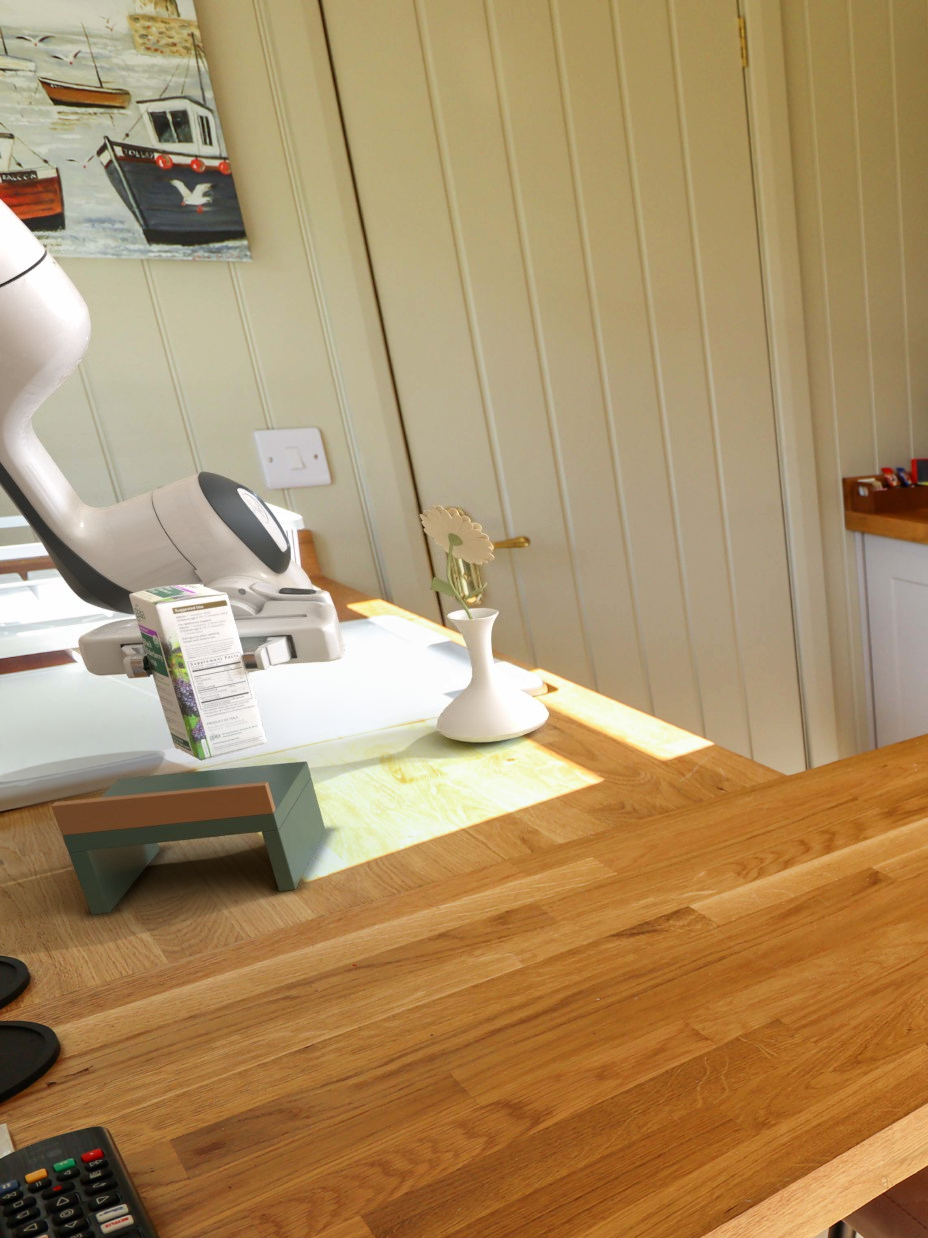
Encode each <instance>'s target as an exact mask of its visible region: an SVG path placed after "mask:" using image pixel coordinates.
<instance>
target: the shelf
mask: <svg viewBox="0 0 928 1238" xmlns="http://www.w3.org/2000/svg"><path fill="white" fill-rule="evenodd" d="M50 807H51V809H52V813H53V816H54V819H55V820H56V823H57V826H58V829H59V831H60V834H61V836H62V840H63V842H64V845H65V847H66V849H67V852H68V855H69V858H70V861H71V865H72V866H73V869H74V871H75V872H74V873H75V874H76V877H77V880H78V882H79V884H80V887H81V890H82V893H83V895H84V898H85V902H86V903H87V907H88V909H89V912H90V914H91V915H92V916H95V915H102V914H110V913H111V912H112V910H113V909H114V908H115V906H117V904H118V903H119V902H120V901H121V899H122V898H123V897H124V895H125V894H126V893H127V892H128V891H129V889H130V888H131V887H132V885H133V884H134V883H135V881H136V880H138V878H139V877H140V876H141V875H142V873H143V872H144V870H145V869H146V868H147V867H148V865H149V864H150V863H151V862H152V860H153V859H154V858H155V857H156V855H157V854H158V853H159V852H160V846H159V844H161V843H171V842H181V841H188V840H189V841H190V840H199V839H208V838H217V837H227V836H235V835H245V834H254V833H261V834H262V838H263V841H264V845H265V847H266V851H267V855H268V858H269V862H270V866H271V869H272V873H273V876H274V878H275V882H276V885H277V889H278V891H279V892H288V891H295V890H296V889H297V887H298V885H299V883H300V881H302V880H301V879H302V878H303V876H304V874H305V872H306V870H307V869H308V866H309V864H310V862H311V861H312V859H313V856H314V855H315V852H316V851H317V849H318V847H319V845H320V843H321V842H322V839H323V837H324V835H325V834H326V827H325V823H324V820H323V815H322V813H321V808H320V805H319V800H318V796H317V793H316V789H315V787H314V782H313V779H312V775H311V770H310V768H309V763H308V761H304V760H303V761H295V762H286V763H283V762H282V763H273V764H263V765H251V766H241V767H231V768H230V767H229V768H220V769H219V768H218V769H209V770H197V771H186V772H178V773H177V772H176V773H165V774H155V775H154V774H153V775H144V776H135V777H134V776H132V777H123V778H121V777H120V778H118V779H117V780H116V781H115V782H114V783H113V784H112V785H111V786H110V787H109V788H108V789H107V790H106V791H105V792H104V793H103V794H102V795H101V796H100V797H95V798H84V799H75V800H64V801H55V802H54V803H53V804H52V805H50Z"/></svg>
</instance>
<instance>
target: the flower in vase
mask: <svg viewBox="0 0 928 1238" xmlns="http://www.w3.org/2000/svg"><path fill="white" fill-rule="evenodd" d="M419 518H420V519H421V525H422V526H423V527H424V528H423V531H424V533H425V534H426V535H427V536H429V537H430V538H432V540H433V542H434V543H435V545H437V546H441V549H442V550H443V551H444V552H445V553H447V561H446V572H445V573H446V579H447V581H445V580H443V579H441V578H439V577H437V576H434V577H433V579H432V583H431V585H430V588H429V589H430V590H431V591H435V592H439V593H442V594H443V595H446V596H448V597H451V598H453V597H456V599H457V600H458V602H459V604H460V605H461V606H462V608H463V609H460V610H455V611H452V612H449V613H448V614H447V615H446V618H447V619H448V620H449V621H450V622H451V623H452V624H453V625H454V626H455V627H456V628H457V630H458V631H459V633H460V634H461V636H462V639H463V641H464V643H465V646H466V649H467V652H468V656H469V660H470V667H471V679H470V682H469V684H468V685H466V688H464V690H462V691H461V692H460V693H459V695H457V696H456V697H455V698H454V699H453V700H452V701H451V702H450V703H449V704H447V706H446V707H445V708H444V709H443V710H442V712H441V713H440V715H439V716H438V718H437V721H436V730H438V732H440V734H441V735H442V736H444V737H445V738H447V739H451V740H455V741H459V742H466V743H493V742H500V741H501V742H502V741H505V740H512V739H515V738H519V737H523V736H524V735H526V734H529V733H532V732H534V731H536V730H538V729H539V728H541V727H542V726H543V725H544V724H546V721H547V720H548V718H549V711H548V709H547V708H546V706H545V704H543V703H542V702H540V701H539V700H538V699H537V698H535V697H533V696H531V695H530V694H528V693H526V692H525V691H522V690H520V689H519V688H516V687H515V686H513V685H511V684H509V683H508V682H506V681H505V680H504V679H502V678H501V676H500V675H499V674H498V671H497V669H496V666H495V662H494V657H493V651H492V650H493V649H492V630H493V626H494V622H495V620H496V618H497V617H498V615H499V610H496V609H495V608H488V607H477V608H475V607H474V608H468V606H467V605H466V602H465V601H467V600H470V599H471V598H473V597H475V596H476V595H478V594H479V593H480V592H481V591H482V590H483V589H485V588H486V587H487V586H488V582H487V581H486V582H484V584H483V586H482V587H480V588H476V589H475V590H473V591H471V592H470V593H468V594H467V595H466V596H465V598H463V599H462V597H461V595H460V594H459V593H458V591H457V589H456V588H455V586H454V584H453V582H452V579H451V564H452V557H454V558H455V559H458V560H460V559H462V560H464V562H466V563H468V564H471V565H472V564H475V565H478V566H483V564H489V563H490V562H489V561H494V560H495V559H496V558H495V556H494V555H493V552H494V550H495V547H494V545H493V544H492V542H491V541H490V536H489V535H488V534H486V533H484V532H482V530H483V527H482V525H481V524H480V523H478V522H471V518H470V517H469V516H467V515H466V514H465V515H460V513H459V511H458V510H457V509H456V507H449V509H448V510H446V509H445V508H444V507H443V506H442V505H440V504H435V505H433V504H432V505H430V509H423V510H422V513H419Z"/></svg>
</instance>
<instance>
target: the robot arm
mask: <svg viewBox="0 0 928 1238" xmlns="http://www.w3.org/2000/svg"><path fill="white" fill-rule="evenodd" d="M91 335H92V321H91V314H90V310H89V307H88V305H87V303H86V301H85V299H84V298H83V296H82V294H81V292H80V291H79V290H78V288H77V286H76V285H75V283H74V282H73V281H72V279H71V278H70V277H69V276H68V274H67V273H66V271H65V270H64V269H63V268H62V266H61V265H60V263H58V261H57V260H56V259H55V258H54V257H53V255H52V254H51V253H50V252H49V250H48V249H46V247H45V246H44V245H43V243H42V242H41V241H40V239H38V238H37V236H35V234H34V233H33V232H32V230H30V228H29V227H28V226H27V225H26V224H25V223H24V222H23V221H22V220H21V219H20V218H19V216H18V215H17V214H16V213H15V212H14V211H13V210H12V209H11V208H10V207H9V206H8V205H7V204H6V203H5V202H4V201H3V200H2V199H1V198H0V487H1V489H2V490H3V491H4V493H5V494H6V495H7V497H8V499H10V501H11V503H12V504H13V505H14V507H16V509H17V510H18V512H20V514H21V515H22V517H23V518H24V519H25V521H26V522H27V523H28V524H29V527H30V528H31V529H32V530H33V532H34V533H35V534H36V536H37V538H38V539H39V540H40V543H41V544H42V545H43V547H44V549H45V551H46V553H47V554H48V556H49V558H50V559H51V561H52V563H53V565H54V566H55V568H56V570H57V571H58V573H59V574H60V576H61V577H62V579H63V580H64V582H65V583H66V585H67V586H68V587H69V588H70V590H72V592H73V593H74V594H75V596H77V597H78V598H79V599H80V600H82V601H83V602H85V603H87V604H89V605H91V606H94V607H97V608H100V609H103V610H106V611H109V612H114V613H120V614H126V615H132V616H133V615H134V616H135V613H134V610H133V607H132V603H131V600H130V596H129V595H130V594H132V593H135V592H139V591H143V590H147V589H152V588H158V587H165V586H174V585H192V584H200V585H202V586H204V587H207V588H210V589H213V590H216V591H218V592H224V593H226V594H227V595H228V599H229V603H230V607H231V610H232V614H233V617H234V621H235V625H236V629H237V632H238V636H239V639H240V643H241V647H242V651H243V655H242V657H243V661H245V662H246V664H245V668H246V670H248V673H254V672H258V671H267V669H268V668H270V666H271V667H276V666H279V665H280V666H281V665H295V664H296V665H298V664H311V663H312V664H313V663H327V662H334V661H338V660H341V659H342V658H343V657H344V655H345V654H346V646H345V641H344V637H343V633H342V628H341V624H340V619H339V617H338V612H337V609H336V606H335V604H334V601H333V598H332V595H331V594H330V592H329V591H327V590H324V589H323V590H322V589H314V585H313V584H312V581H311V578H309V576H308V574H307V573H306V571H305V570H304V569H303V568H302V567H301V566H300V565H299V564H298V563H297V562H295V561H294V560H292V552H291V550H292V549H291V544H290V541H289V538H288V536H287V535H286V532H285V530H284V529H283V527H282V525H281V523H280V522H279V520H278V519H277V517H276V515H275V514H274V513H273V511H272V510H271V509H270V508H269V506H268V505H267V503H265V502H264V500H263V499H262V498H261V497H260V496H259V495H258V494H256V493H255V492H254V491H253V490H252V489H250V488H249V487H247V486H245V485H243V484H242V483H239V482H237V481H235V480H232V479H230V478H229V477H226V476H224V475H221V474H218V473H216V472H215V473H214V472H210V471H200V472H199V473H195V474H193V475H190V476H187V477H183V478H180V479H179V480H175V481H172V482H170V483H167V484H164V485H162V486H158V487H156V488H155V489H153V490H150V491H148V492H145V493H142V494H139V495H137V496H134V497H131V498H128V499H126V500H122V501H119V502H118V503H117V502H116V503H115V504H112V505H109V506H105V507H99V506H98V507H96V506H92V505H88V504H87V503H85V502H83V500H82V499H81V498H80V496H79V494H77V492H76V491H75V489H74V488H73V486H72V485H71V483H70V482H69V481H68V479H67V478H66V476H65V475H64V473H63V472H62V471H61V469H60V467H58V464H57V463H56V462H55V461H54V459H53V458H52V457H51V455H50V453H49V452H48V451H47V449H46V448H45V446H44V445H43V443H42V442H41V440H40V439H39V438H38V436H37V434H36V432H35V430H34V427H33V423H32V418H33V416H34V414H35V413H36V411H37V410H38V408H39V407H40V406H41V405H42V404H43V403H44V402H45V401H46V400H47V399H48V398H49V397H50V396H51V395H52V394H53V393H54V392H56V390H57V389H59V387H61V385H62V384H64V383H65V382H66V381H67V380H68V378H69V377H70V376H71V375H72V374H73V373H74V372H75V370H76V369H77V367H78V366H79V365H80V363H81V362H82V360H83V358H84V357H85V354H86V352H87V350H88V348H89V344H90V341H91ZM77 643H78V648H79V649H78V650H79V652H80V656H81V659H82V662H83V664H84V667H85V669H86V670H87V671H88V672H89V673H90V674H92V675H95V676H101V677H103V676H116V675H117V676H118V675H126V677H127V678H128V679H143V678H150V677H151V676H153V675H152V671H151V668H150V665H149V661H148V658H147V654H146V651H145V647H144V644H143V640H142V637H141V634H140V630H139V626H138V623H137V620H136V618H128V619H127V618H126V619H119V620H116V621H115V620H114V621H111V622H109V623H105V624H103V625H100V626H98V627H97V628H94V629H92V630H90V631H87V632H86V633H83V634H82V635H81V636H80V637H79V638H78V641H77Z"/></svg>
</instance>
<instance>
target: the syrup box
mask: <svg viewBox="0 0 928 1238" xmlns="http://www.w3.org/2000/svg"><path fill="white" fill-rule="evenodd" d="M129 596H130V600H131V603H132V607H133V610H134V613H135V615H134V616H135V619H136V620H137V623H138V626H139V630H140V634H141V637H142V640H143V644H144V647H145V651H146V654H147V658H148V661H149V665H150V668H151V671H152V675H151V676H152V678H153V682H154V685H155V688H156V692H157V695H158V698H159V701H160V706H161V708H162V711H163V714H164V718H165V721H166V725H167V727H168V730H169V734H170V737H171V740H172V744H173V747H174V748H175V749H177V750H180V751H182V752H184V753H185V754H188V755H190V756H191V757H193V758H196V759H197V760H199V761H202V762H203V761H205V760H210V759H214V758H217V757H221V756H225V755H229V754H233V753H236V752H240V751H244V750H247V749H251V748H253V747H258V746H262V745H265V744H267V743H268V741H267V737H266V733H265V729H264V726H263V722H262V717H261V714H260V710H259V706H258V703H257V699H256V696H255V692H254V688H253V685H252V681H251V677H250V674H249V673H250V672H249V673H248V670H246V668H245V664H246V662H245V661H243V657H242V655H243V651H242V647H241V643H240V639H239V636H238V632H237V629H236V625H235V621H234V617H233V614H232V610H231V607H230V603H229V599H228V595H227V594H226V593H224V592H218V591H216V590H213V589H210V588H207V587H204V586H203V585H200V584H192V585H174V586H165V587H158V588H152V589H147V590H143V591H139V592H135V593H132V594H130V595H129Z"/></svg>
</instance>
